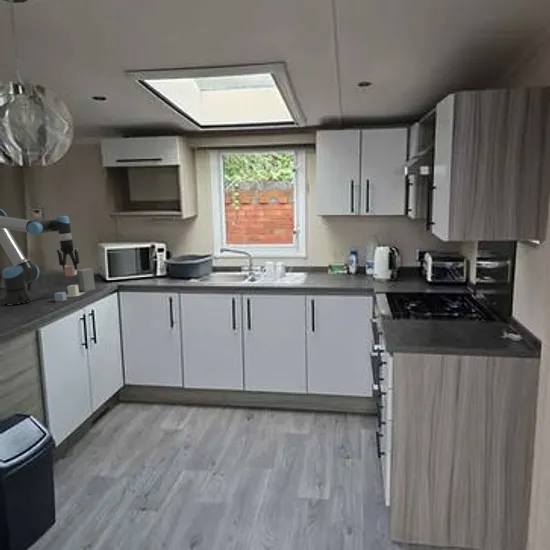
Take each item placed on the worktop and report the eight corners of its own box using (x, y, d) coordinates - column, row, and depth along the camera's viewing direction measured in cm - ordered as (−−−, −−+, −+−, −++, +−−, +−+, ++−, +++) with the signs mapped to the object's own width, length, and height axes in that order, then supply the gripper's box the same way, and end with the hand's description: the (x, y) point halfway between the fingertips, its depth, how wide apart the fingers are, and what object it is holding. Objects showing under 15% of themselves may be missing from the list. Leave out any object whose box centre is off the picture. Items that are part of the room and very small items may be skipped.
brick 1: (55, 303, 303) (54, 293, 302) (59, 301, 308) (57, 292, 307) (63, 302, 303) (62, 293, 302) (67, 300, 308) (65, 291, 306)
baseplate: (61, 298, 315) (60, 297, 315) (69, 294, 327) (69, 293, 327) (79, 297, 315) (78, 295, 314) (86, 293, 327) (86, 292, 326)
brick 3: (68, 295, 318) (67, 286, 317) (71, 293, 323) (70, 285, 322) (75, 295, 318) (74, 286, 317) (79, 293, 323) (77, 284, 322)
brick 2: (65, 276, 316) (64, 267, 315) (69, 275, 321) (67, 266, 320) (73, 275, 316) (71, 266, 315) (76, 274, 321) (75, 265, 320)
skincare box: (91, 290, 339) (87, 267, 336) (96, 290, 334) (93, 268, 332) (79, 292, 333) (76, 269, 330) (85, 293, 328) (81, 270, 325)
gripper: (49, 241, 311) (55, 276, 315) (76, 239, 310) (82, 275, 314) (55, 240, 318) (60, 274, 322) (82, 238, 317) (87, 273, 322)
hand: (71, 274), depth 318 cm, fingers closed on brick 2, 5 cm apart
